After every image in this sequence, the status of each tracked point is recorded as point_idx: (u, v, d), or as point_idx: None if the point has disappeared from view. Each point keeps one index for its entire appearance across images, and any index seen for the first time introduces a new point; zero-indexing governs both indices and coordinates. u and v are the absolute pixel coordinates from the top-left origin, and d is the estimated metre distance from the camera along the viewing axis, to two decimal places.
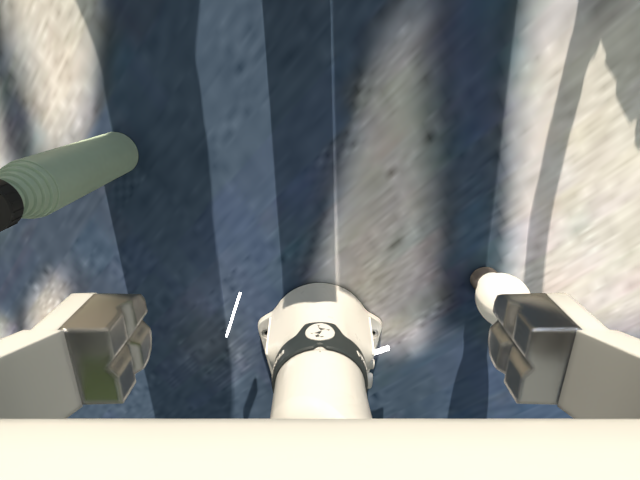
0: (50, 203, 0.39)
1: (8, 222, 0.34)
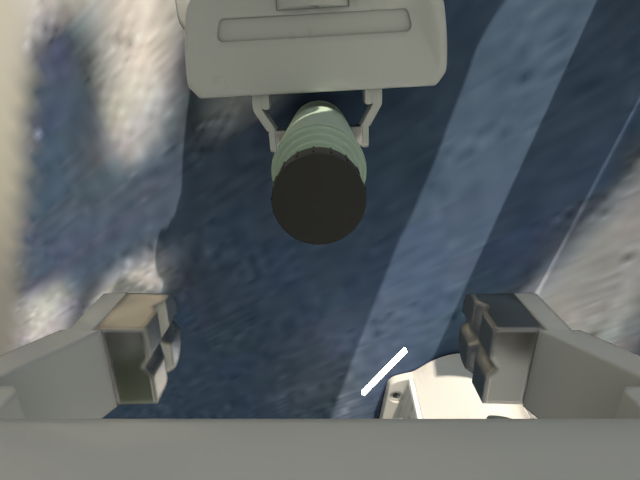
0: None
1: (345, 235, 0.20)
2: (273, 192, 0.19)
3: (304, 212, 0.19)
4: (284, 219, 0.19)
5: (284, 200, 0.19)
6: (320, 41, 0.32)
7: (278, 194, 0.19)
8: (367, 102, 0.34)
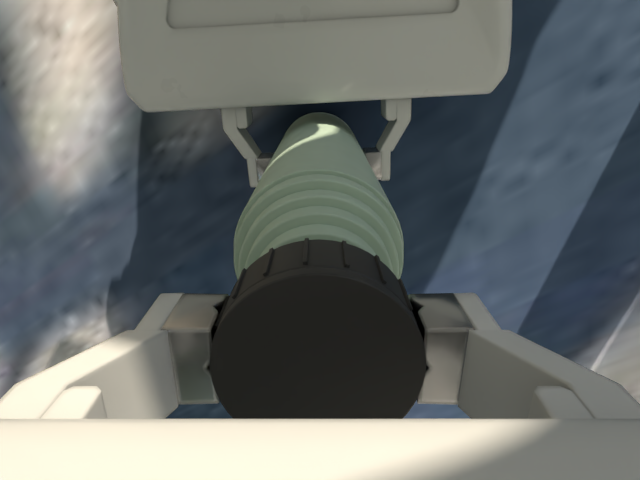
0: None
1: None
2: (213, 354, 0.08)
3: (285, 393, 0.09)
4: (240, 407, 0.09)
5: (239, 370, 0.08)
6: (321, 27, 0.21)
7: (224, 359, 0.08)
8: (389, 118, 0.24)
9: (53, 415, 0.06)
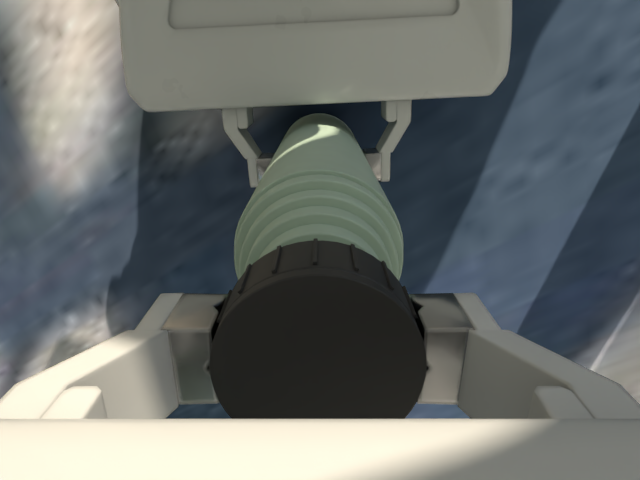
0: None
1: (416, 330, 0.08)
2: None
3: (339, 402, 0.09)
4: None
5: None
6: (322, 28, 0.22)
7: None
8: (389, 119, 0.24)
9: (54, 415, 0.06)
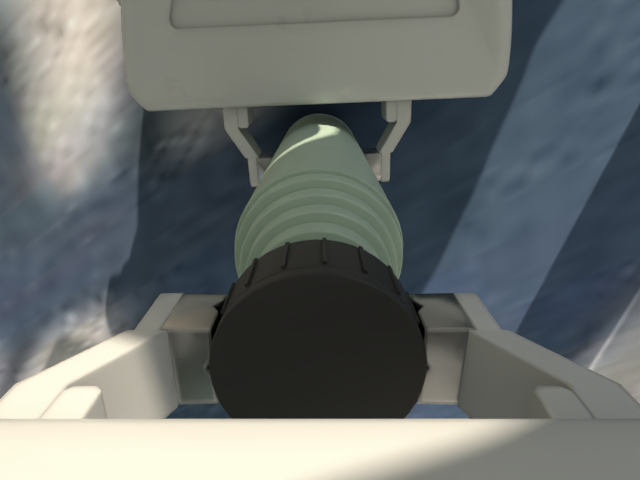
0: None
1: (284, 279, 0.08)
2: (404, 414, 0.09)
3: (359, 359, 0.08)
4: (410, 360, 0.08)
5: (390, 395, 0.08)
6: (322, 29, 0.22)
7: (396, 409, 0.09)
8: (389, 119, 0.24)
9: (53, 415, 0.06)
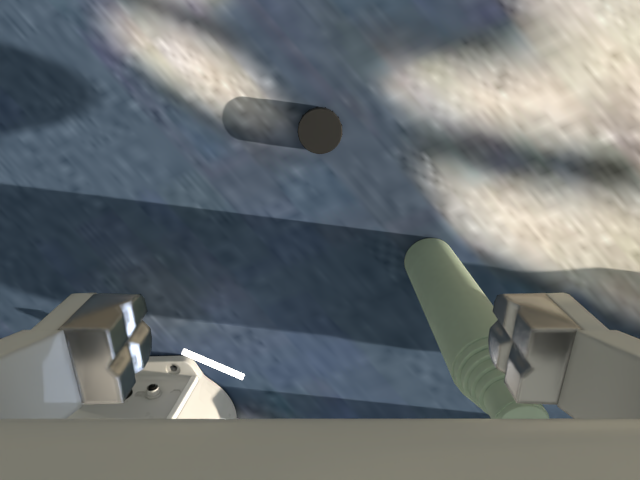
0: None
1: (318, 153, 0.42)
2: (306, 114, 0.40)
3: (311, 131, 0.41)
4: (301, 127, 0.41)
5: (307, 120, 0.41)
6: None
7: (307, 116, 0.40)
8: None
9: None
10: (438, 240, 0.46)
